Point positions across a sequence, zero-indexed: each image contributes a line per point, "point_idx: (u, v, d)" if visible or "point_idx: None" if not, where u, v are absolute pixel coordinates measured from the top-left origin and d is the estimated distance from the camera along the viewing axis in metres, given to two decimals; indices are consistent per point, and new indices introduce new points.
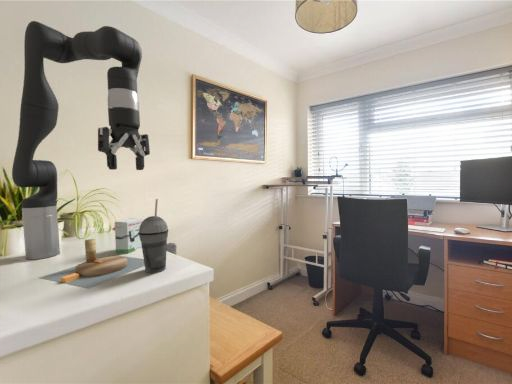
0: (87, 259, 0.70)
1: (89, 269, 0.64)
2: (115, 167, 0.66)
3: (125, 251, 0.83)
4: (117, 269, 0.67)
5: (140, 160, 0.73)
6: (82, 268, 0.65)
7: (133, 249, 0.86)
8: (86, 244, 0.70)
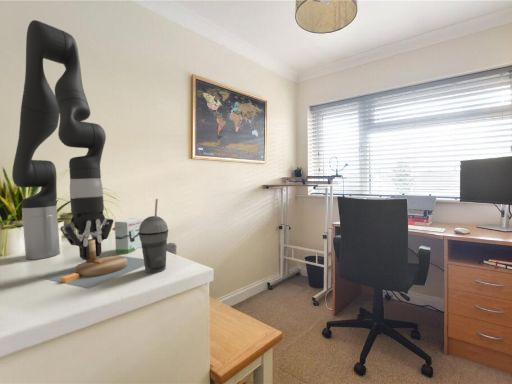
0: None
1: (89, 269, 0.64)
2: (87, 258, 0.69)
3: (125, 251, 0.83)
4: (117, 269, 0.67)
5: (96, 247, 0.72)
6: (82, 268, 0.65)
7: (133, 249, 0.86)
8: None
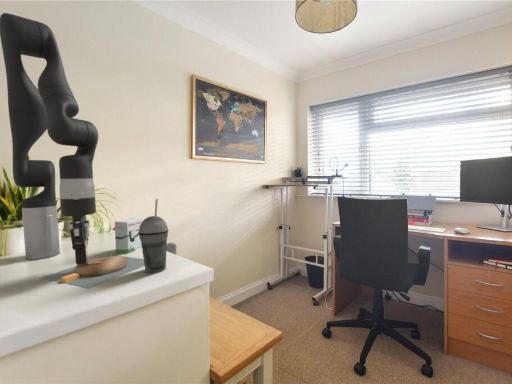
0: None
1: (107, 267, 0.66)
2: None
3: (125, 251, 0.83)
4: None
5: None
6: (95, 268, 0.64)
7: (133, 249, 0.86)
8: None
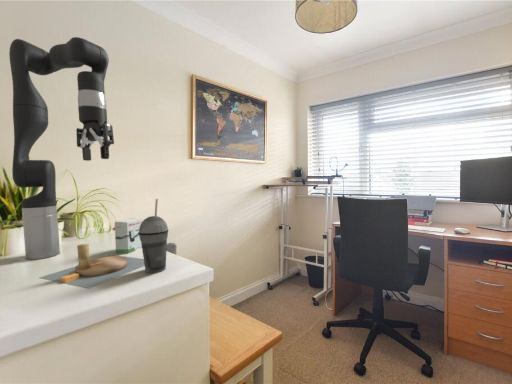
0: (87, 265, 0.65)
1: (119, 263, 0.69)
2: None
3: (125, 251, 0.83)
4: None
5: (89, 152, 0.83)
6: (109, 266, 0.66)
7: (133, 249, 0.86)
8: (86, 249, 0.65)
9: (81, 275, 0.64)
